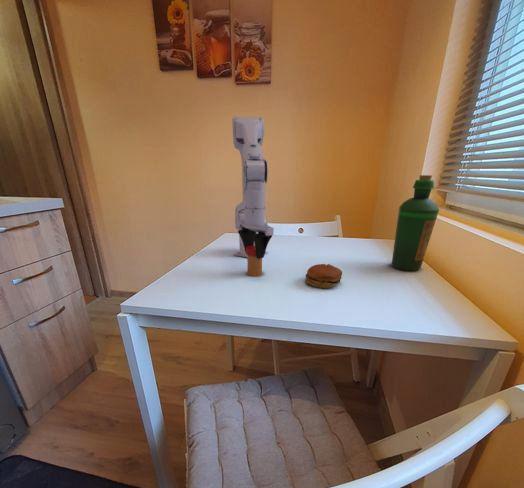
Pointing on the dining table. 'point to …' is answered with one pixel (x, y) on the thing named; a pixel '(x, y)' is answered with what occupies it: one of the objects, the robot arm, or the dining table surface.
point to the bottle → (415, 226)
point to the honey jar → (254, 266)
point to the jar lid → (251, 250)
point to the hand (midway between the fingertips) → (254, 255)
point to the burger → (323, 276)
